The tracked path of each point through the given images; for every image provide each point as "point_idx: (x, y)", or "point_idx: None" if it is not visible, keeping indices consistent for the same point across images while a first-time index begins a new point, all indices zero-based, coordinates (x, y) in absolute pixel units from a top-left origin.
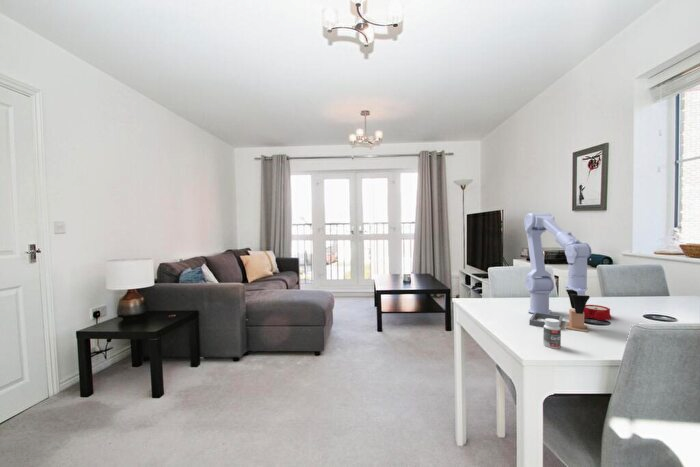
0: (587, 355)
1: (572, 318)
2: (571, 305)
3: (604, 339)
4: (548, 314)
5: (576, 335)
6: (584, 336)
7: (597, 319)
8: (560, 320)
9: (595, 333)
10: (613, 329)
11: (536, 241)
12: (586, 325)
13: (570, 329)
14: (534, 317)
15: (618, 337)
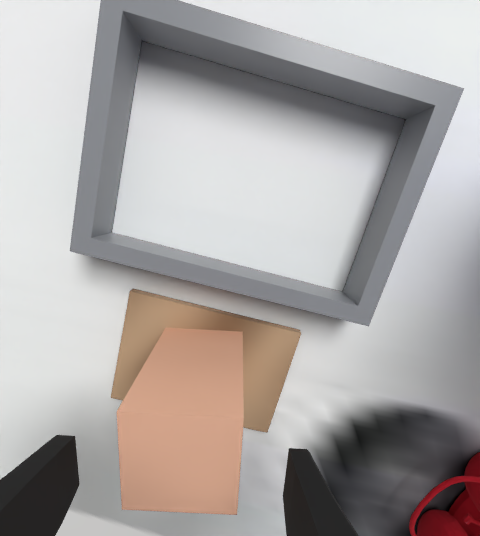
0: None
1: (144, 371)
2: (295, 475)
3: (9, 437)
4: (393, 220)
5: (8, 317)
6: (12, 356)
7: (428, 513)
8: (205, 280)
9: (112, 426)
10: (241, 525)
11: None
12: (250, 424)
13: (129, 312)
14: (306, 76)
15: (88, 504)
